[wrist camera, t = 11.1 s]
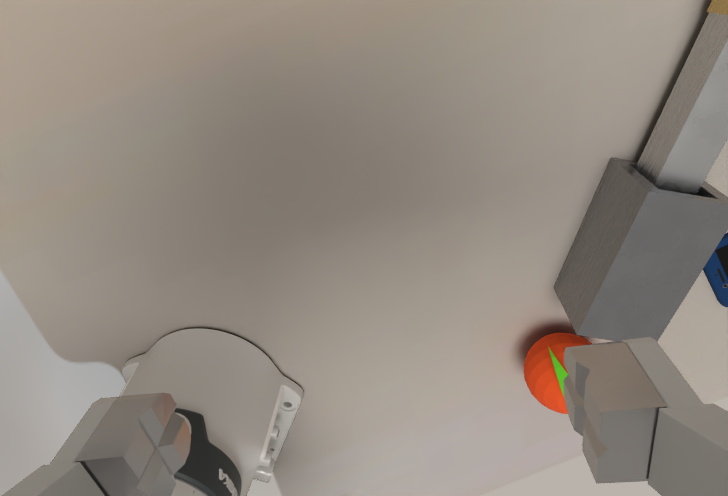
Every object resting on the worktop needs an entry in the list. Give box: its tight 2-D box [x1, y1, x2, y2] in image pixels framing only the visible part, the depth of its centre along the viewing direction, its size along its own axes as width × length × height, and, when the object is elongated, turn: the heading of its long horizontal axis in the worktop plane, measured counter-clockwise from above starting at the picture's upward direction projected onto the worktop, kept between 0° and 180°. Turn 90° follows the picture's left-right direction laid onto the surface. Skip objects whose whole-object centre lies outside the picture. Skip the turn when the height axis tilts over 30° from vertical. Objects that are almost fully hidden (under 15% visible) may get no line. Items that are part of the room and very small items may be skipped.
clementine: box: [524, 333, 592, 414], centre depth 41 cm, size 8×7×7 cm
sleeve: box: [554, 158, 728, 341], centre depth 35 cm, size 12×6×6 cm, turn 172°
